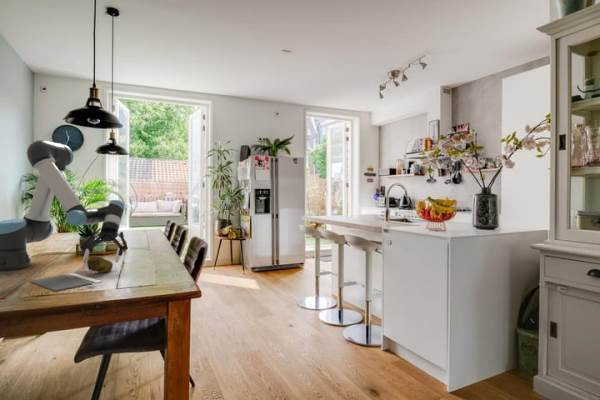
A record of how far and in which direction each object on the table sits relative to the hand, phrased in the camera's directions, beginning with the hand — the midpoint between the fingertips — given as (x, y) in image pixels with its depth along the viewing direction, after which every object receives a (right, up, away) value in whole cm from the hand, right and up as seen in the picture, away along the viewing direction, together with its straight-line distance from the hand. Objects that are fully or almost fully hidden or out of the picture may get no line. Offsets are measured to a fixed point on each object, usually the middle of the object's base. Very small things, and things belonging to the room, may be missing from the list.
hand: (100, 261), depth 159 cm
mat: (-7, -6, -17) cm, 19 cm away
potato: (-1, -6, +2) cm, 6 cm away
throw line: (-2, -6, -9) cm, 11 cm away
